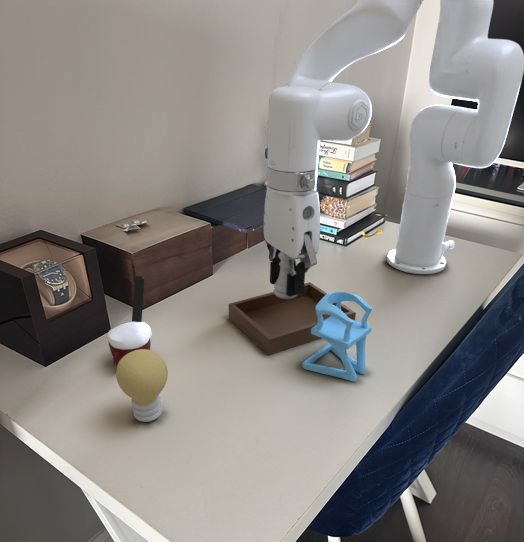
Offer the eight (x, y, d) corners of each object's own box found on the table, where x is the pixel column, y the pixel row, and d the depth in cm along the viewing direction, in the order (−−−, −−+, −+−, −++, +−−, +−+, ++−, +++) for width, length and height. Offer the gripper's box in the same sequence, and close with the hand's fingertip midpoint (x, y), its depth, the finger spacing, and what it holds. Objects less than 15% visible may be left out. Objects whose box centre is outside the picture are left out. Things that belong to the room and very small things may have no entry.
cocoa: (122, 379, 75) (110, 308, 69) (97, 363, 79) (83, 294, 72) (170, 352, 81) (164, 285, 75) (145, 339, 85) (137, 273, 78)
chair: (346, 389, 74) (356, 318, 67) (300, 367, 79) (305, 298, 72) (373, 366, 79) (385, 298, 72) (329, 347, 83) (336, 280, 77)
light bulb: (114, 414, 69) (103, 353, 63) (154, 394, 73) (146, 334, 67) (141, 438, 65) (131, 375, 60) (181, 415, 69) (175, 354, 63)
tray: (309, 295, 99) (310, 281, 97) (354, 327, 89) (356, 312, 87) (228, 318, 91) (228, 303, 89) (268, 355, 81) (268, 339, 80)
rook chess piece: (301, 290, 89) (304, 246, 84) (296, 301, 85) (298, 257, 81) (276, 286, 90) (278, 243, 85) (270, 298, 86) (271, 253, 82)
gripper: (346, 189, 72) (334, 303, 82) (282, 164, 84) (278, 266, 94) (303, 197, 69) (296, 314, 79) (242, 169, 81) (243, 274, 91)
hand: (286, 287), depth 87 cm, fingers closed on rook chess piece, 4 cm apart
